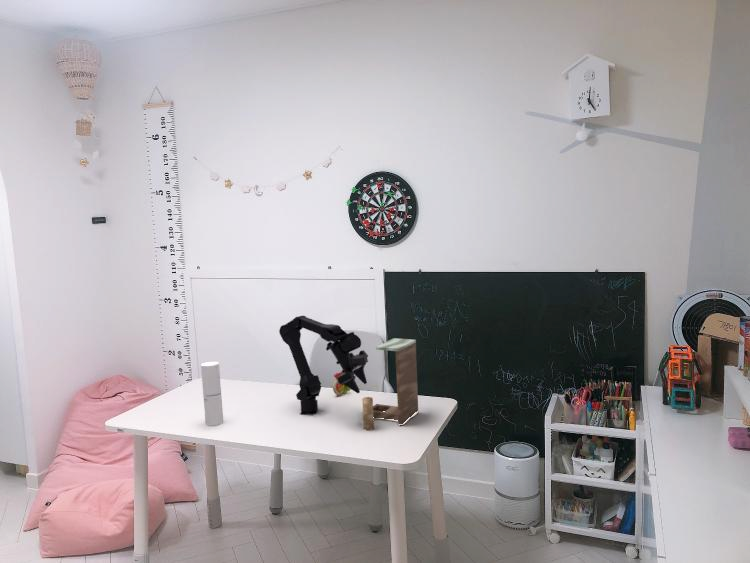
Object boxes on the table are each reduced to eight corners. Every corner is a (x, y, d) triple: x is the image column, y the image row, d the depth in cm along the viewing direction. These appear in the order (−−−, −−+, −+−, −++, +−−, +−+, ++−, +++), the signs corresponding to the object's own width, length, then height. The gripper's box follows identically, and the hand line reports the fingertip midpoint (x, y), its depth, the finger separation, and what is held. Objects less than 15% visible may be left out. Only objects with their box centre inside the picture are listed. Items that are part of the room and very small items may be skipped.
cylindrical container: (218, 426, 245) (213, 366, 242) (202, 425, 246) (197, 366, 243) (226, 420, 252) (221, 361, 249) (210, 419, 253) (205, 361, 250)
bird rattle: (344, 401, 276) (352, 388, 283) (338, 382, 271) (346, 369, 277) (332, 399, 279) (341, 387, 285) (326, 381, 273) (335, 368, 280)
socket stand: (362, 420, 244) (359, 345, 240) (380, 408, 258) (377, 337, 254) (401, 426, 236) (398, 348, 232) (418, 413, 250) (415, 339, 246)
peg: (363, 430, 233) (362, 400, 232) (363, 426, 237) (362, 397, 236) (373, 430, 233) (372, 400, 232) (374, 426, 237) (372, 396, 235)
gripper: (350, 355, 230) (371, 389, 231) (365, 339, 248) (385, 371, 249) (328, 366, 234) (348, 400, 235) (344, 350, 252) (363, 382, 253)
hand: (362, 388), depth 243 cm, fingers open, 9 cm apart
